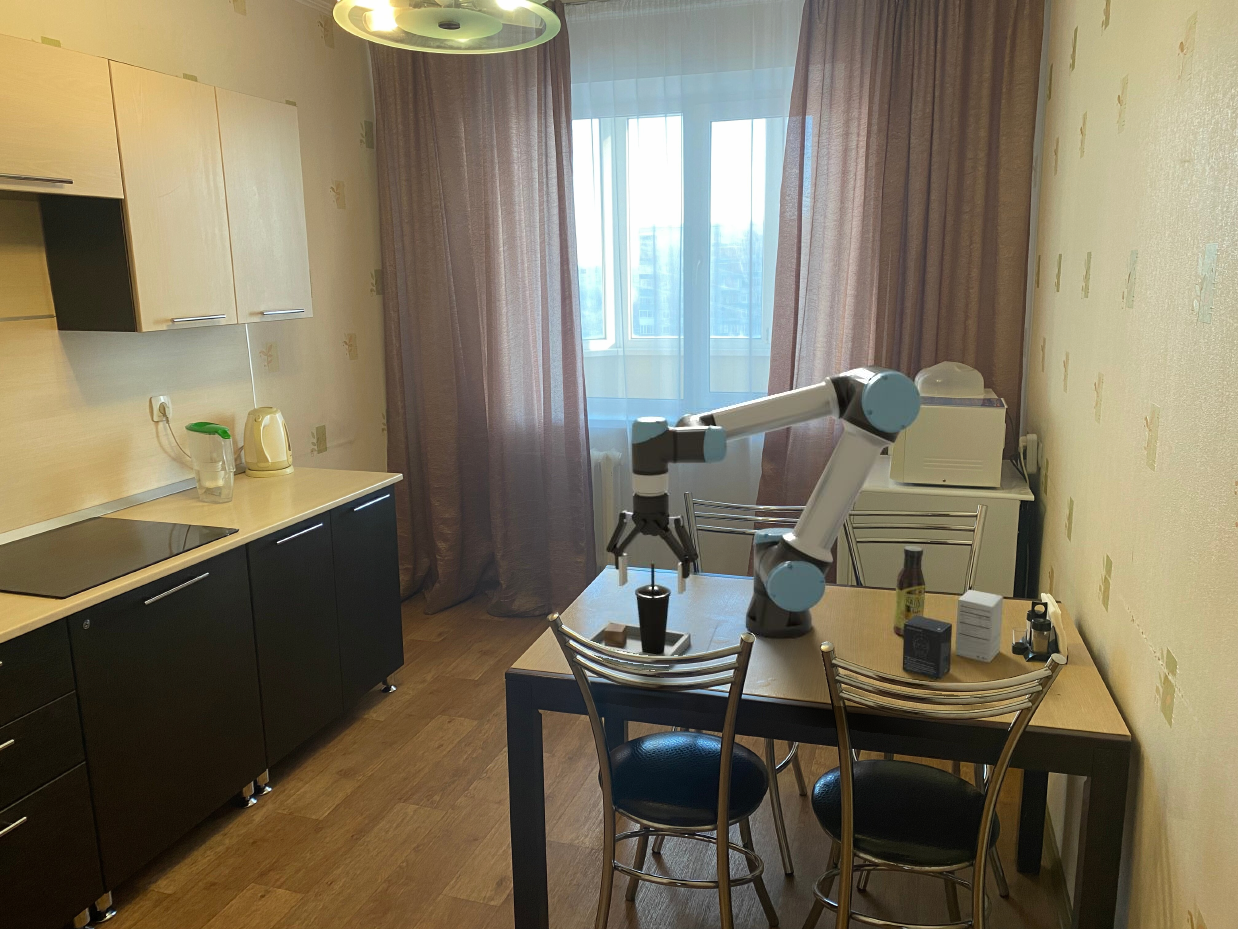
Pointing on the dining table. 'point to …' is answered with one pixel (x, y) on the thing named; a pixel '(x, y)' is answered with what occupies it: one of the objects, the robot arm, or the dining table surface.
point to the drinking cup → (653, 615)
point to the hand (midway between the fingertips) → (652, 588)
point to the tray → (673, 641)
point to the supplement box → (979, 625)
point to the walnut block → (615, 635)
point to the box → (927, 647)
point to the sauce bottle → (909, 589)
